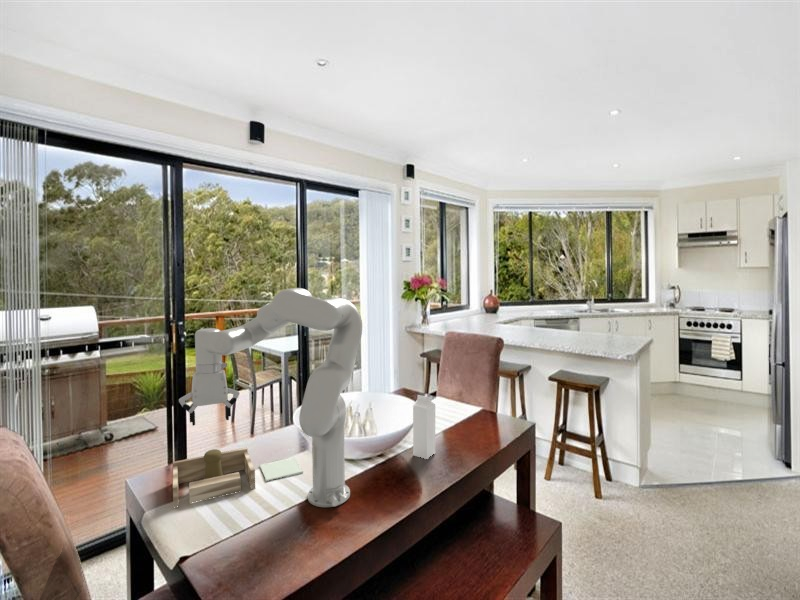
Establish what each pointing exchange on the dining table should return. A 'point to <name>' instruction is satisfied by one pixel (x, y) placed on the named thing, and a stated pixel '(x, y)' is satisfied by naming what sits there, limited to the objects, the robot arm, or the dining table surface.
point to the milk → (423, 427)
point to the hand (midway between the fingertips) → (210, 421)
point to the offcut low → (215, 494)
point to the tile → (280, 469)
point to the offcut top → (214, 484)
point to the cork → (213, 464)
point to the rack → (196, 466)
